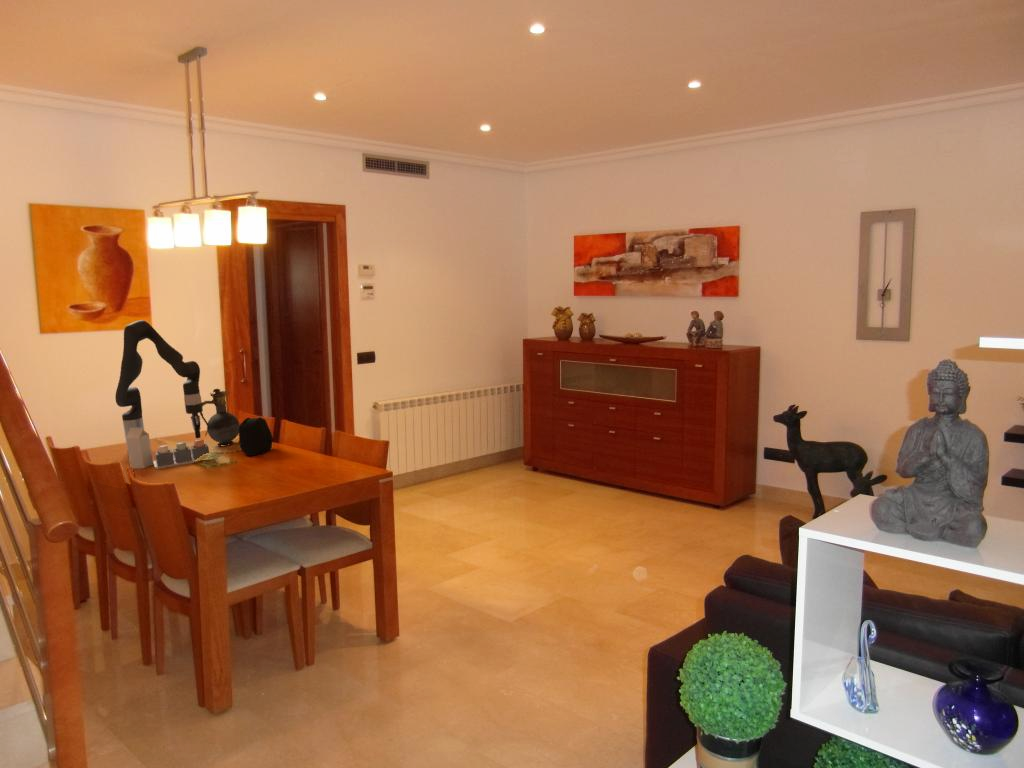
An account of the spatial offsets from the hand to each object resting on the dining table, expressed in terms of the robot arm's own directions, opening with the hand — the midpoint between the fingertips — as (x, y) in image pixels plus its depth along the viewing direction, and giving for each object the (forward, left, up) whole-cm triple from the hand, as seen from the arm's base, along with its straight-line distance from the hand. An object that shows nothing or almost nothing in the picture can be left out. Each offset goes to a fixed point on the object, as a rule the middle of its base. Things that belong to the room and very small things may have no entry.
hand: (198, 437), depth 372 cm
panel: (0, -8, -10) cm, 13 cm away
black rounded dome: (+8, +25, -11) cm, 28 cm away
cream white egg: (0, -16, -6) cm, 17 cm away
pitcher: (-20, +13, -11) cm, 26 cm away
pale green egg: (0, -8, -6) cm, 10 cm away
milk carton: (-4, -26, -11) cm, 28 cm away
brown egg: (0, 0, -6) cm, 6 cm away
